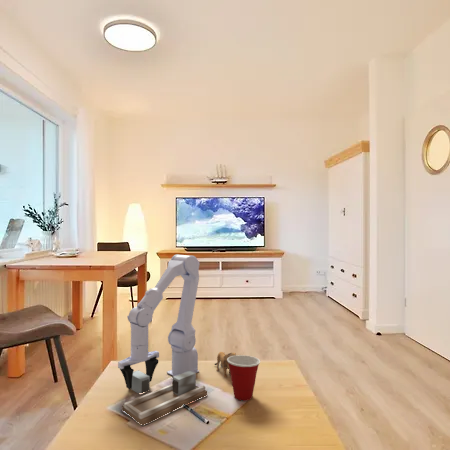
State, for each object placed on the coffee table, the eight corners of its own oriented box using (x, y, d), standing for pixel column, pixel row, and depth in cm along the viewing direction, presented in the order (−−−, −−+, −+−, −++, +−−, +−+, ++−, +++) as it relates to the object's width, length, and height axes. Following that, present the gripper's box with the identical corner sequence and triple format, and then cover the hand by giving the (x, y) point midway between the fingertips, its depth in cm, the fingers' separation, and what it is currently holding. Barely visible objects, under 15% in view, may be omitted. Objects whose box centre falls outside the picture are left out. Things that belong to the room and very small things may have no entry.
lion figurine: (241, 378, 122) (242, 353, 122) (229, 381, 119) (229, 355, 120) (220, 364, 135) (220, 341, 135) (208, 367, 132) (208, 344, 132)
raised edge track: (185, 384, 116) (185, 365, 117) (207, 395, 109) (207, 375, 109) (122, 411, 99) (122, 389, 99) (142, 426, 92) (142, 402, 92)
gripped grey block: (138, 384, 117) (138, 370, 117) (150, 391, 112) (150, 376, 112) (129, 388, 114) (129, 373, 114) (140, 395, 109) (141, 380, 109)
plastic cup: (264, 392, 111) (265, 355, 111) (253, 407, 101) (253, 367, 102) (234, 386, 116) (234, 350, 116) (221, 400, 106) (221, 361, 106)
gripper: (151, 336, 121) (150, 374, 121) (113, 345, 111) (113, 387, 111) (162, 340, 116) (162, 380, 116) (124, 351, 106) (124, 394, 106)
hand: (139, 384), depth 113 cm, fingers open, 7 cm apart
